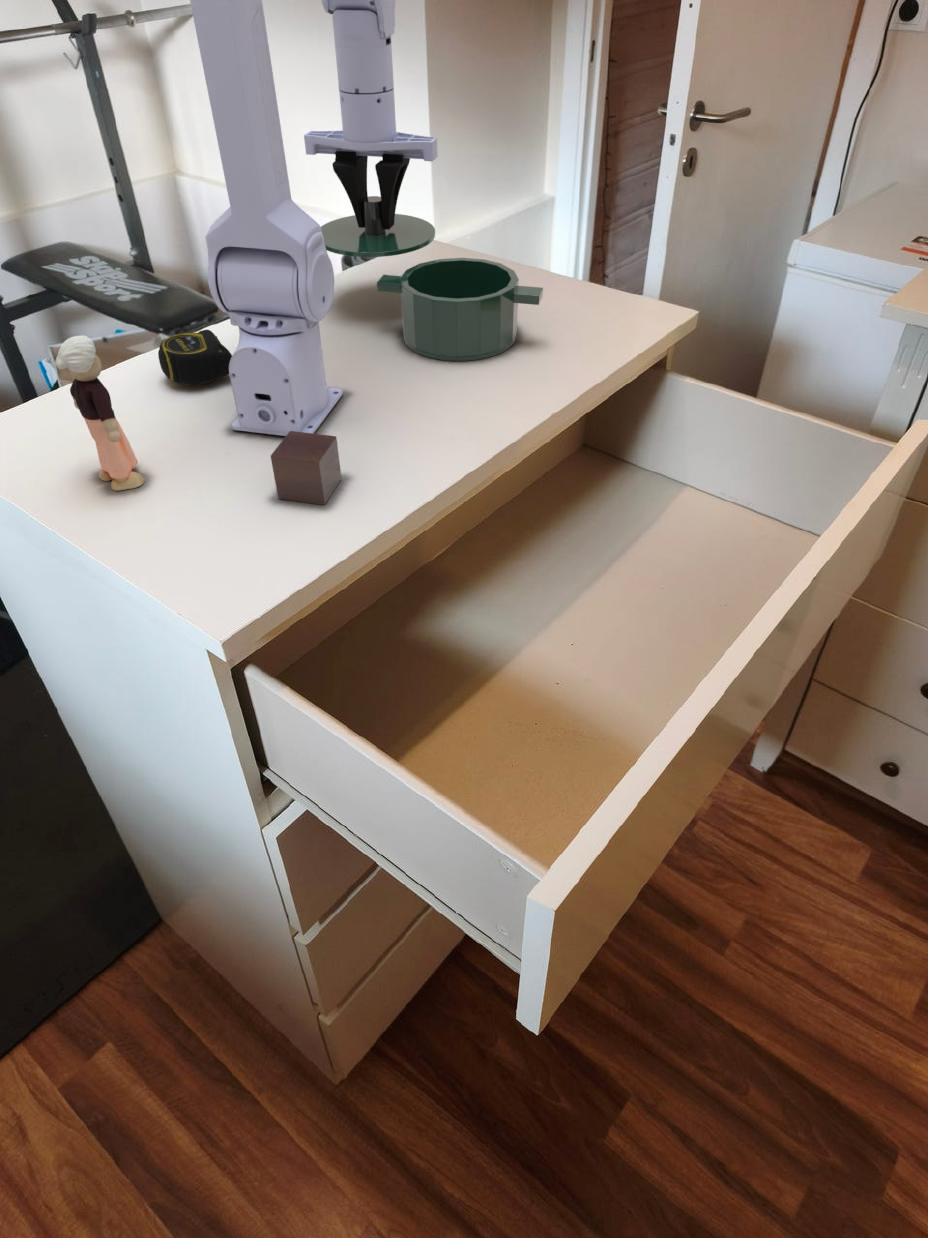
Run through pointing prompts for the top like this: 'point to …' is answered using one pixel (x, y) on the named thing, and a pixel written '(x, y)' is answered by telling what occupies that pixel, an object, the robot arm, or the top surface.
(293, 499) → the block
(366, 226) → the pot lid
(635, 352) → the top surface
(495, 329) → the pot
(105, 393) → the grandmother figurine
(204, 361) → the tape measure
